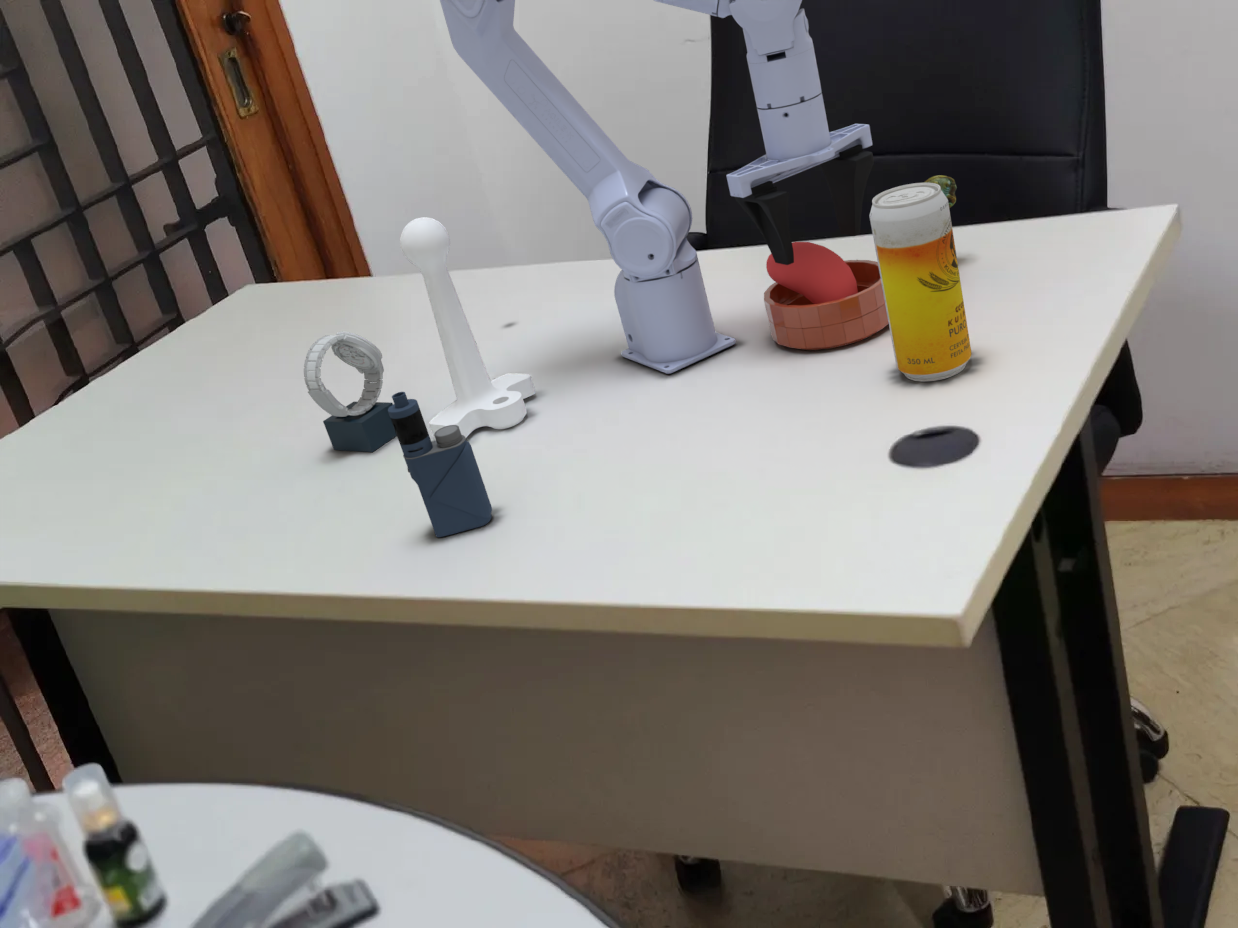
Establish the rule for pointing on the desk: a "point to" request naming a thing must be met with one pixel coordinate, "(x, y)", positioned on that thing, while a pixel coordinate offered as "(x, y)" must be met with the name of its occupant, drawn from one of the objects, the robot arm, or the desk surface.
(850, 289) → the red kidney bean
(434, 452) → the vaping device
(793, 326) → the bowl
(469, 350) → the joystick
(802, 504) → the desk surface
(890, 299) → the beer can
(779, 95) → the robot arm
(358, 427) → the watch
